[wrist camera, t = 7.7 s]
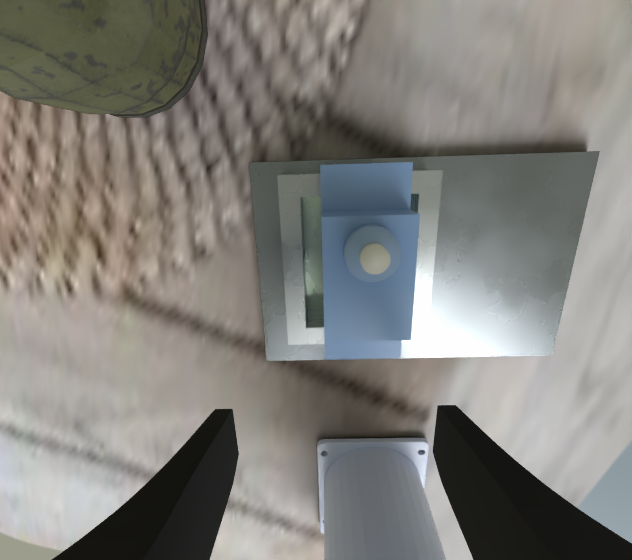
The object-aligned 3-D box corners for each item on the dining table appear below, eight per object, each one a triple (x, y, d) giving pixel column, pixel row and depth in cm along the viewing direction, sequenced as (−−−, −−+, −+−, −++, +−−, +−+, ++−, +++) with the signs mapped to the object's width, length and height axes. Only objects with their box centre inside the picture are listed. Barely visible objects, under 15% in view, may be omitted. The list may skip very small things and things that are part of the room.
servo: (383, 316, 20) (417, 398, 13) (323, 318, 20) (326, 399, 13) (389, 162, 17) (437, 161, 10) (320, 164, 17) (320, 165, 10)
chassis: (543, 348, 22) (580, 379, 19) (268, 354, 22) (260, 385, 19) (587, 151, 18) (644, 149, 15) (251, 162, 18) (237, 162, 15)
